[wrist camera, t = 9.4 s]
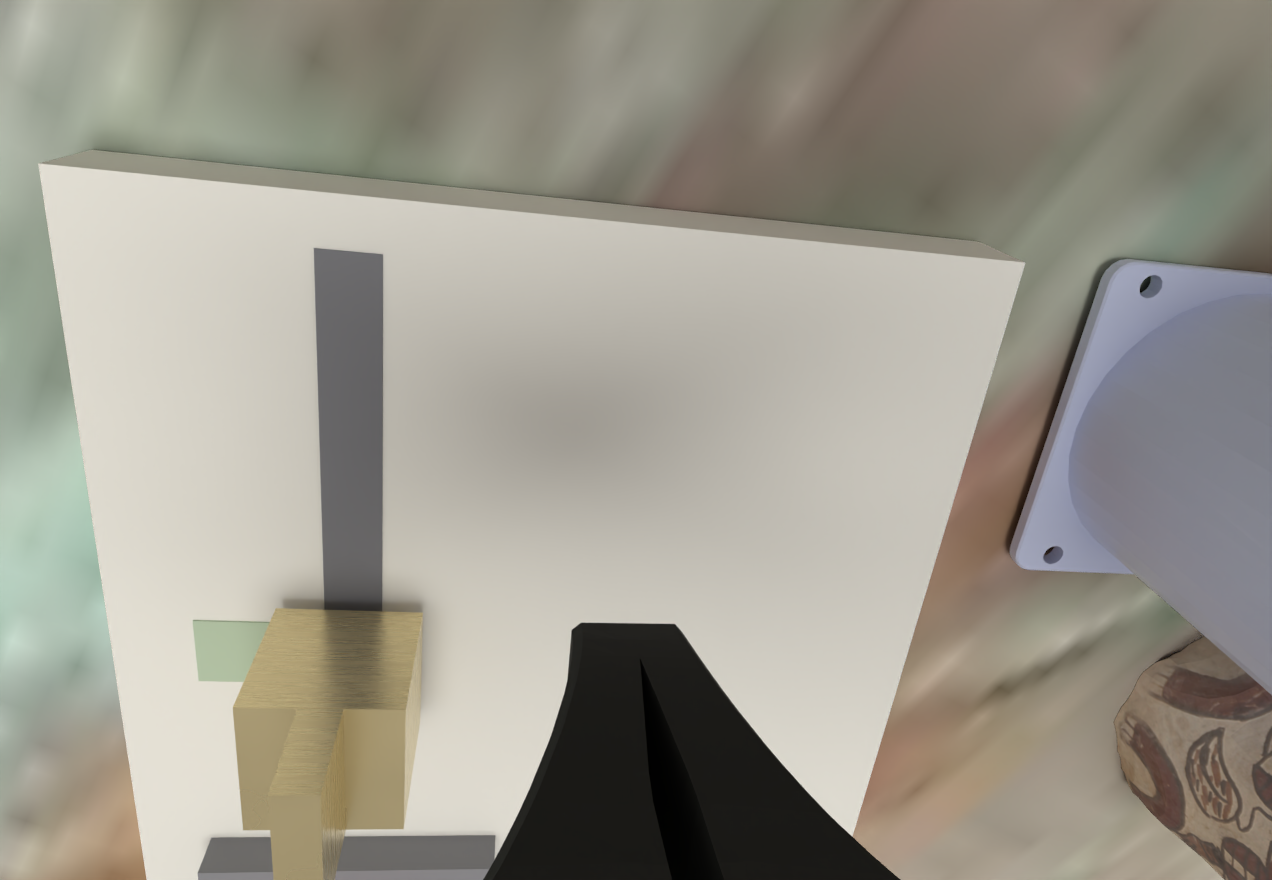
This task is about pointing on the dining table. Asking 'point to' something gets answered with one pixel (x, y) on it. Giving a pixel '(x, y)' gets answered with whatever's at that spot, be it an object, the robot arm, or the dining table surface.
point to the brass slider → (328, 732)
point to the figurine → (1203, 757)
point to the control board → (501, 465)
